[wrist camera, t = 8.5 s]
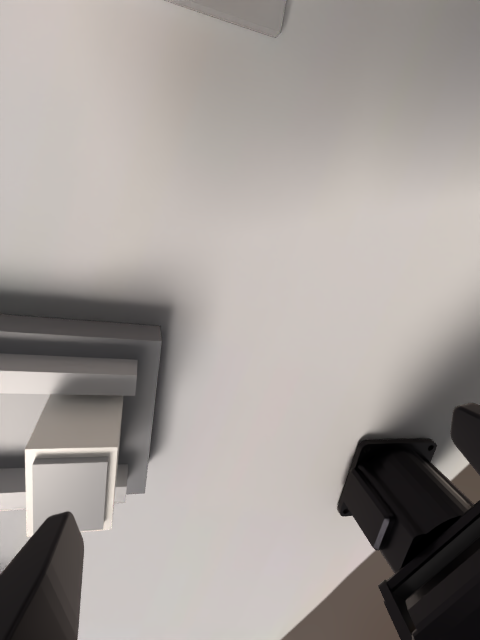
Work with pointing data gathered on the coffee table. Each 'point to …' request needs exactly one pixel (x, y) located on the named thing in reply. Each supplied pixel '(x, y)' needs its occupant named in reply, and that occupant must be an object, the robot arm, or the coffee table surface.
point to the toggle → (74, 461)
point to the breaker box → (75, 389)
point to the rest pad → (243, 12)
